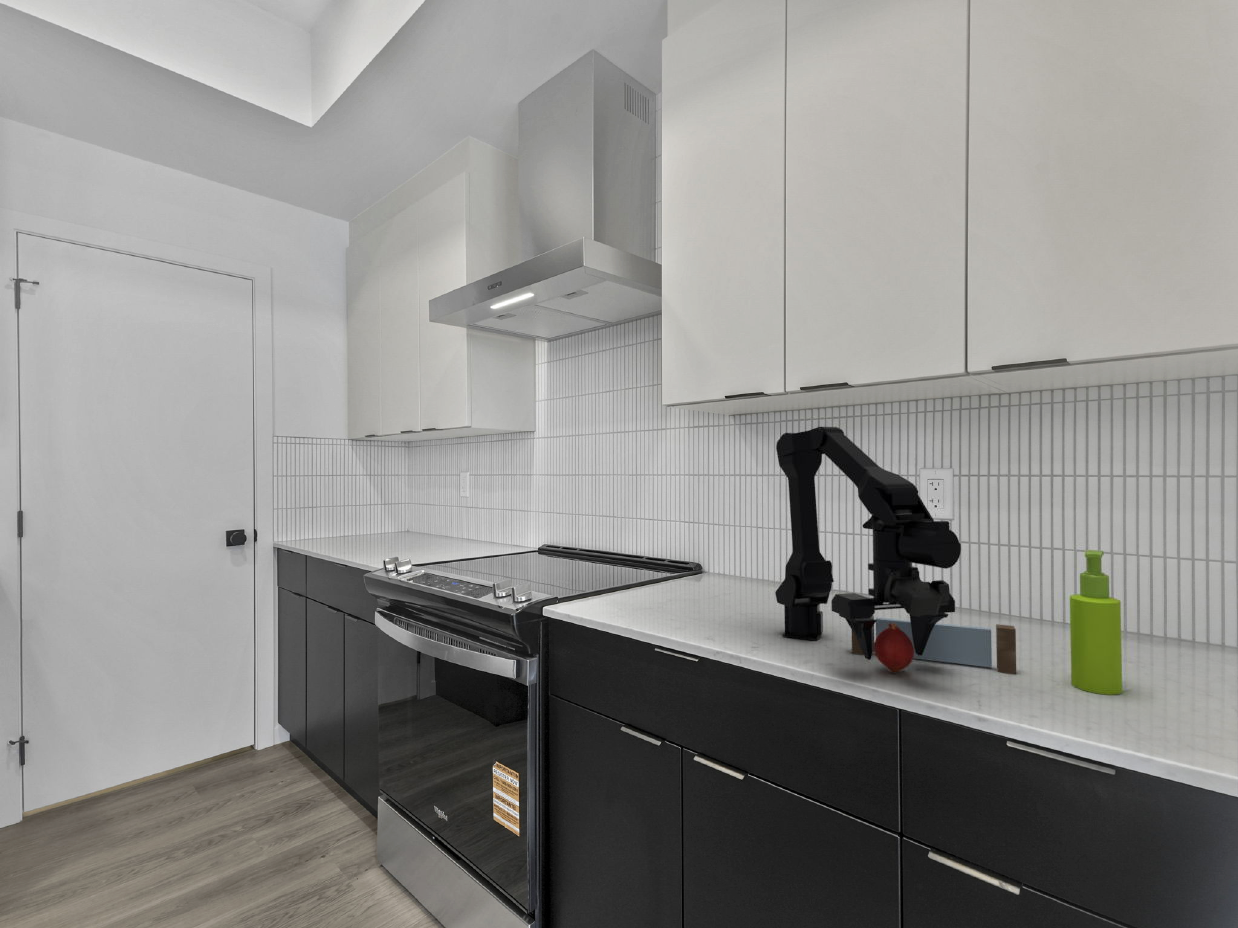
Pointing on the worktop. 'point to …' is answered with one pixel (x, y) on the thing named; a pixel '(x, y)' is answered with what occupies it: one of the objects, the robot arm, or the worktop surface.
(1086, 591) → the soap dispenser
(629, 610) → the worktop surface
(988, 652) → the door
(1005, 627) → the door frame
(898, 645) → the onion
